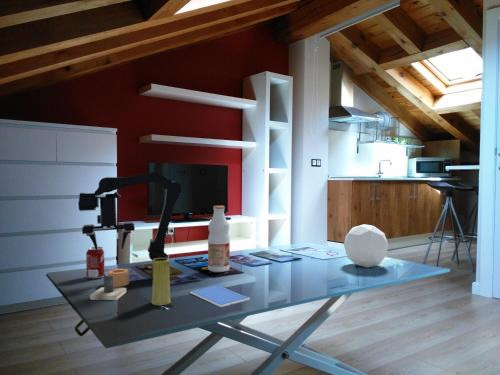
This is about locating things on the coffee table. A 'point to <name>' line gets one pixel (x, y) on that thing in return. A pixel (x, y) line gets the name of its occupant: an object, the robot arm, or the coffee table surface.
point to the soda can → (95, 263)
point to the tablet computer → (219, 296)
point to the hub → (119, 277)
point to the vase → (161, 282)
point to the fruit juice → (218, 242)
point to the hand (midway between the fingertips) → (109, 249)
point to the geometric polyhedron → (366, 245)
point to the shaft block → (108, 291)
